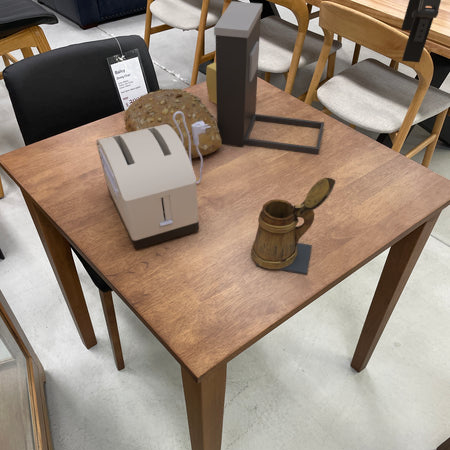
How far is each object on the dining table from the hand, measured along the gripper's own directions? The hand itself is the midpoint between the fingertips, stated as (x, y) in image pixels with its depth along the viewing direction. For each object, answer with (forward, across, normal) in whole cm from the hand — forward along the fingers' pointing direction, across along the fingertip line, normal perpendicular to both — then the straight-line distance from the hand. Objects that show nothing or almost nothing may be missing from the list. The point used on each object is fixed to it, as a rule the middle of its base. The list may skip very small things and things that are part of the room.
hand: (409, 44), depth 77 cm
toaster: (+32, +15, -42) cm, 55 cm away
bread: (+32, -10, -50) cm, 60 cm away
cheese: (+32, -35, -40) cm, 62 cm away
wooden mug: (+31, +25, -15) cm, 43 cm away
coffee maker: (+32, -20, -25) cm, 45 cm away
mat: (+32, +25, -15) cm, 43 cm away
